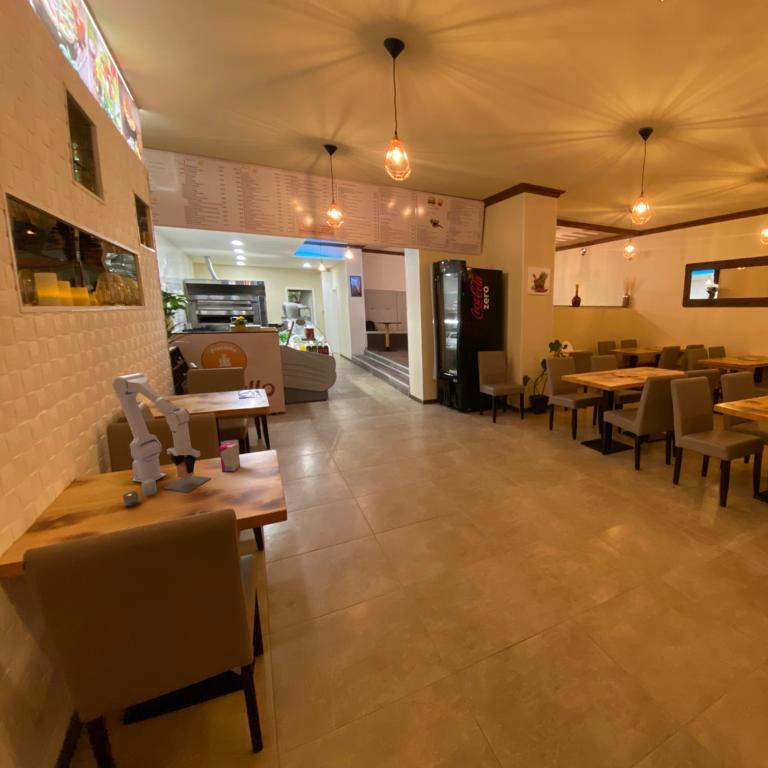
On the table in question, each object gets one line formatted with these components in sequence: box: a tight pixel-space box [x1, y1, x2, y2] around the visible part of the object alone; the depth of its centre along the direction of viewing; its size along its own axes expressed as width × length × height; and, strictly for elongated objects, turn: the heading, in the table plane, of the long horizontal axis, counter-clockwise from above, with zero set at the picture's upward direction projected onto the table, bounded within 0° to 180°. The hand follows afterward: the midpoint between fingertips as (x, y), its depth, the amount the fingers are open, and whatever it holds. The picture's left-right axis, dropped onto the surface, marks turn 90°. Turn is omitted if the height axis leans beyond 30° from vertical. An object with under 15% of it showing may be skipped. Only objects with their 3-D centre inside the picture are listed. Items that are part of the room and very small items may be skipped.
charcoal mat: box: [163, 474, 212, 494], centre depth 146 cm, size 12×12×1 cm
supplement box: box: [219, 442, 241, 473], centre depth 158 cm, size 6×6×12 cm
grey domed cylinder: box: [141, 479, 158, 497], centre depth 139 cm, size 4×4×5 cm
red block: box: [175, 462, 195, 479], centre depth 145 cm, size 4×4×5 cm
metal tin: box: [122, 490, 140, 508], centre depth 131 cm, size 4×4×4 cm
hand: (186, 471), depth 145 cm, fingers closed on red block, 4 cm apart
